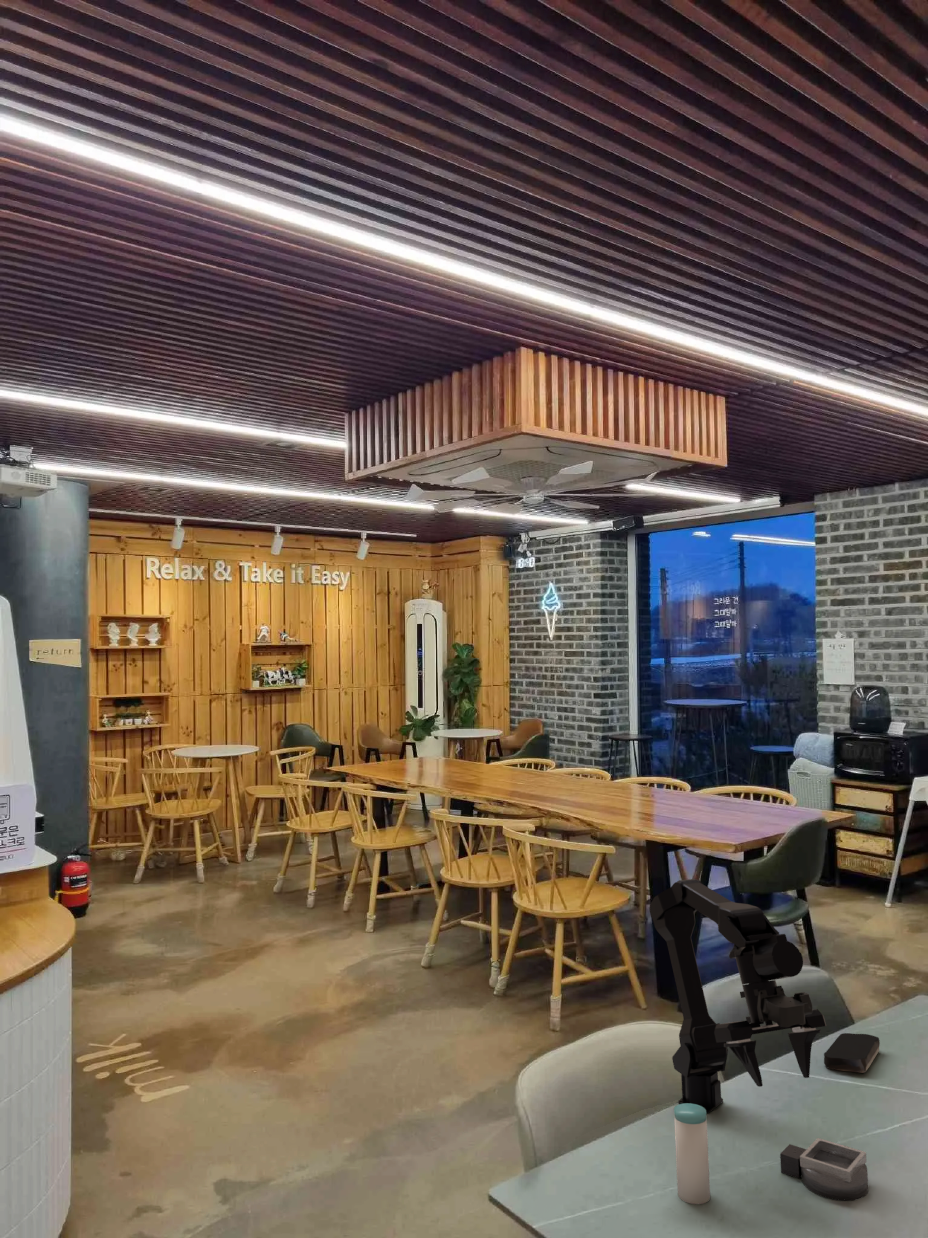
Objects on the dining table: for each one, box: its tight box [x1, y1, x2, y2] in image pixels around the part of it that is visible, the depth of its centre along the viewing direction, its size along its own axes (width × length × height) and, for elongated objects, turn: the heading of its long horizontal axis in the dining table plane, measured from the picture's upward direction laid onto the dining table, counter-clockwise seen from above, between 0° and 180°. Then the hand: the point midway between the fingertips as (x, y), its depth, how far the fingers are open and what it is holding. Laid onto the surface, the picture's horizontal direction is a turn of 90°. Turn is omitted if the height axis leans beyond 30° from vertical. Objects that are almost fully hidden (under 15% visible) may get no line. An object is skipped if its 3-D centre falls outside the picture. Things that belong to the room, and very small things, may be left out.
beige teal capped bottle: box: [673, 1103, 711, 1205], centre depth 146 cm, size 5×5×13 cm
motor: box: [779, 1137, 869, 1202], centre depth 149 cm, size 13×10×4 cm
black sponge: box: [823, 1032, 881, 1074], centre depth 196 cm, size 16×8×4 cm, turn 144°
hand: (783, 1082), depth 154 cm, fingers open, 9 cm apart
